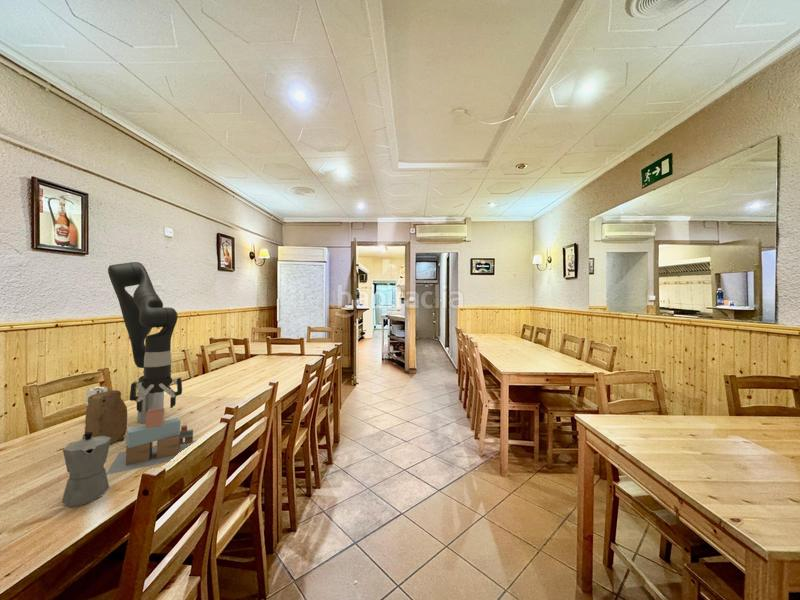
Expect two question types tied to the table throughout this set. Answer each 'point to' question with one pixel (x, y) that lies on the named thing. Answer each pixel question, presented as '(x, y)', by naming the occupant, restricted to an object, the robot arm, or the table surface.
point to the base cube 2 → (168, 446)
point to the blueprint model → (186, 436)
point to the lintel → (152, 432)
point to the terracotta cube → (154, 417)
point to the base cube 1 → (138, 453)
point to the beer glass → (95, 392)
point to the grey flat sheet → (121, 465)
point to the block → (106, 415)
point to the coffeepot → (86, 470)
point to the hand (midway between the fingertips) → (156, 409)
